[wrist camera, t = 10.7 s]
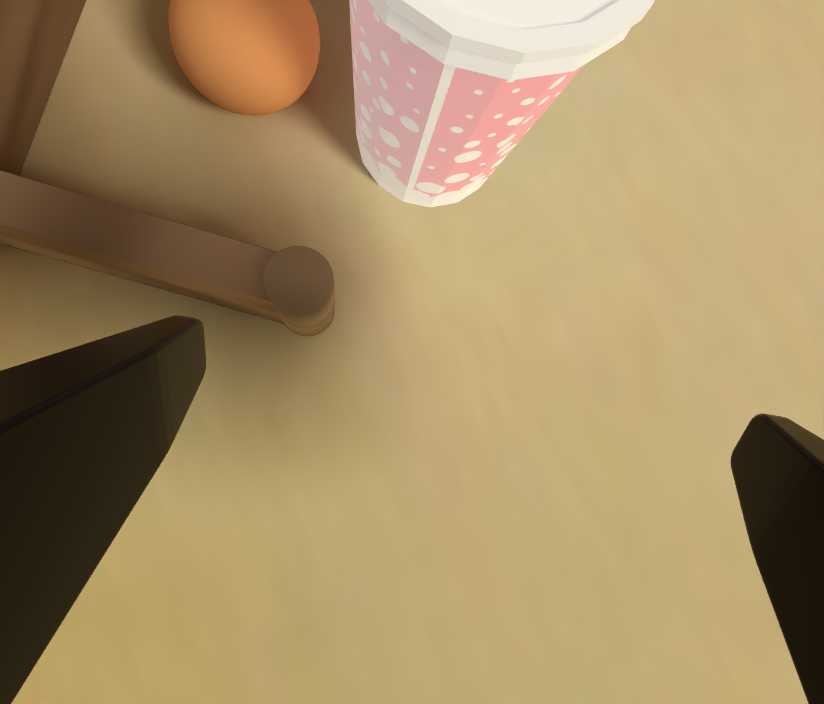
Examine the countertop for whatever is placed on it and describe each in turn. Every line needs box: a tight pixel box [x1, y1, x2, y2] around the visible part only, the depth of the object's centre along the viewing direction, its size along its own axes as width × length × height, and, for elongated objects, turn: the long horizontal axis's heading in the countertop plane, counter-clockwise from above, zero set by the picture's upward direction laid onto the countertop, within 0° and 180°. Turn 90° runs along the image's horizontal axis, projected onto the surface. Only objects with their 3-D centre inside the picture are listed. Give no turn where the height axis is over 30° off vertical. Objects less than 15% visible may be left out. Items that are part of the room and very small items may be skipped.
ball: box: [168, 0, 320, 116], centre depth 15 cm, size 4×4×4 cm
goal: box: [0, 0, 334, 336], centre depth 15 cm, size 11×16×4 cm
